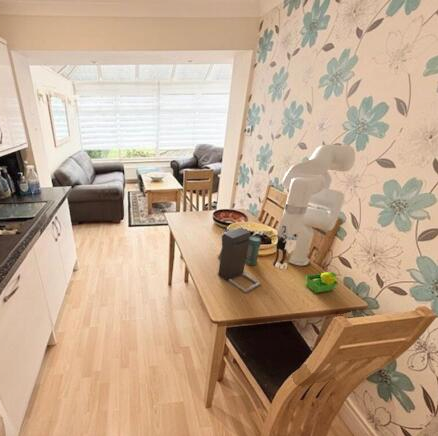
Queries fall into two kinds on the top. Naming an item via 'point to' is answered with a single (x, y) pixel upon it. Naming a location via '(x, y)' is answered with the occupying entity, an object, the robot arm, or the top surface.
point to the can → (253, 250)
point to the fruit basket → (321, 282)
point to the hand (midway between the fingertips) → (285, 246)
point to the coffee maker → (235, 256)
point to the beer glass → (285, 253)
